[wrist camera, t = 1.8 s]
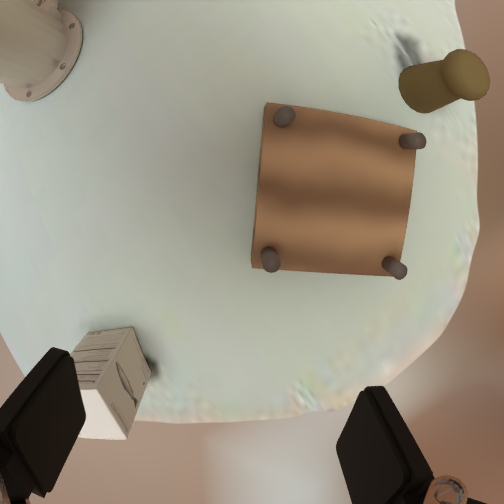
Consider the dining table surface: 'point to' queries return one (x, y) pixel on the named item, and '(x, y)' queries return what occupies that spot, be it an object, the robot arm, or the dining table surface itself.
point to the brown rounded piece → (444, 81)
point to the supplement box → (110, 381)
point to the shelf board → (332, 192)
